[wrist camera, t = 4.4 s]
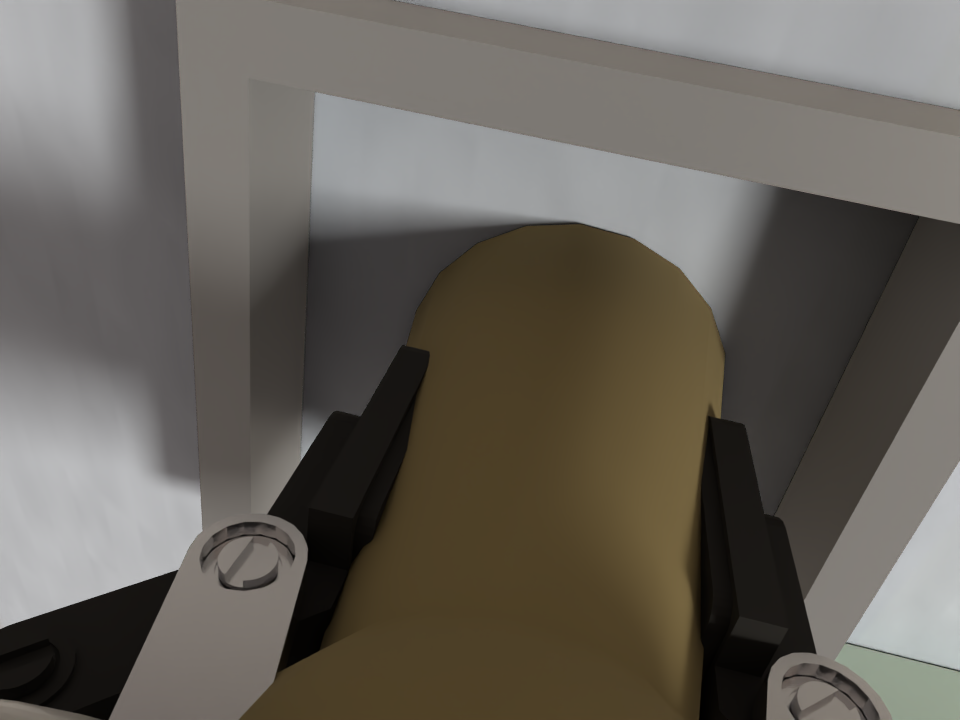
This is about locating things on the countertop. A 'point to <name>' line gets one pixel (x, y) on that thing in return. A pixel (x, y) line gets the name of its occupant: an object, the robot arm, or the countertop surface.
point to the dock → (588, 123)
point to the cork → (535, 500)
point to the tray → (906, 684)
